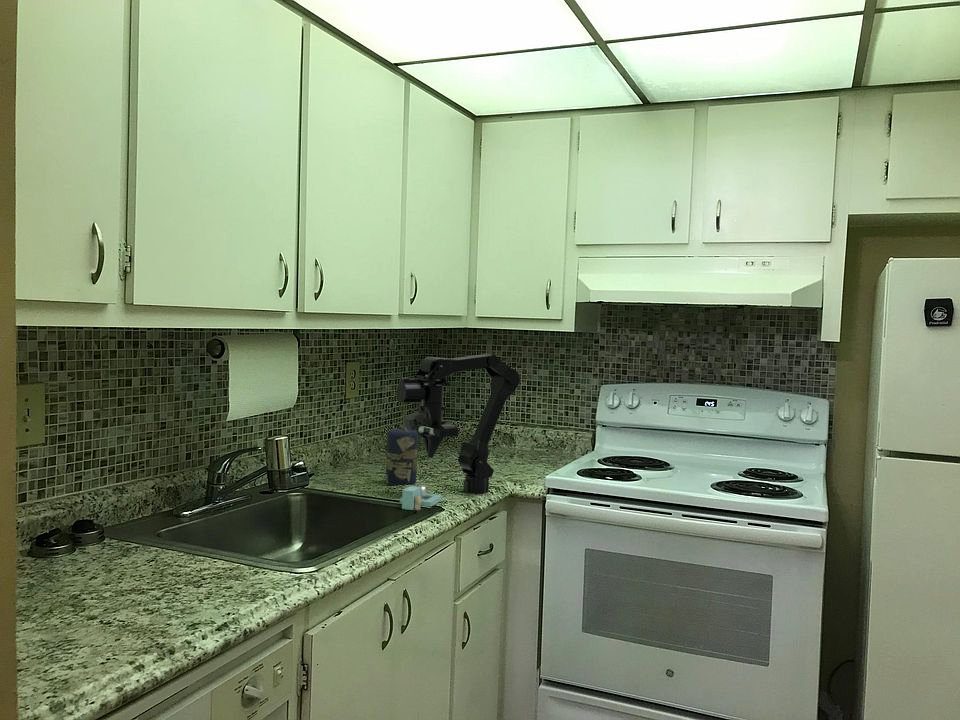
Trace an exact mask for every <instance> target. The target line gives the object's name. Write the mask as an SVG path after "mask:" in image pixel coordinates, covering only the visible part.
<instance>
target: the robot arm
mask: <svg viewBox="0 0 960 720" xmlns="http://www.w3.org/2000/svg"><path fill="white" fill-rule="evenodd" d="M480 369H484V371H485V372H486V374H487V376H489V377H490V379H491V380H490V385H489V386H490V394H489V395H490V396H489V397H488V400H487V402H486V404H485V407H484V410H483V412H482V415H481V417H480V419H479V422H478V424H477V426H476V429H475V431H474V433H473V436H472V438H471V439H470V440H469V441H468V442H467V441H462V443H461V447H460V449H459V451H458V453H457V455H458V457H457V461H458V464H459V466H460V467H461V470H462V473H463V474H465V478H464V480H463V490H462V491H463V493H465V494H468V495H471V494H473V495H484V494H486V493H489V490H490V489H489V488H490V484H489V483H490V478H492V477H493V474H494V471H495V470H494V469H493V467H491V465H490V464H489V463H488V459H489V443H490V440H491V439H492V435H493V434H494V431H495V428H496V426H497V423H498V421H499V418H500V417H501V415H502V411H503V409H504V406H505V404H506V402H507V400H508V399H509V398H510V397H511V396H512V395H513V394H514V393H515V392H516V390H517V388H518V387H519V385H520V383H521V377H520V374H519V372H518V371H517V370H516V369H513V368H512V367H511V366H510V365H508V364H507V363H505V362H504V361H502V360H501V359H500V358H499V357H498V356H497V355H496V354H494V353H487V352H486V353H485V352H484V353H482V354H476V355H474V354H473V355H469V356H461V357H460V356H459V357H454V358H453V357H452V358H448V357H435V356H434V357H433V356H427V357H425V358H423V359H422V361H421V364H420V367H419V368H418V369H417V371H416V372H415V374H414V375H413V377H412V378H406V377H401V378H400V379H399V380H400V381H399V383H398V384H397V387H396V389H395V397H396V400H397V402H398V403H400V404H410V403H411V404H414V403H417V404H419V403H421V402H422V403H421V404H419V405H418V408H417V411H415V412H411V413H409V414H407V415H405V416H404V417H402V421H403V424H404V427H405V428H406V429H410V430H416V431H417V430H418V431H417V434H418V436H420V437H421V439H422V440H423V444H424V447H425V450H426V453H427V454H426V455H427V458H434V456H435V454H436V452H437V450H438V448H439V446H440V444H441V443H442V441H443V440H444V438H447V437H459V436H460V435H459V433H460V430H459V429H460V428H459V427H458V426H457V425H454V424H452V423H451V424H450V423H447V424H446V420H443V411H446V410H447V407H446V405H444V387H451V383H450V382H449V381H448V380H447V379H446V378H447V377H450V376H452V375H453V374H455V373H458V372H464V371H465V372H466V371H473V370H480Z"/></svg>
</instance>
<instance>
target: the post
mask: <svg viewBox="0 0 960 720" xmlns="http://www.w3.org/2000/svg"><path fill="white" fill-rule="evenodd" d="M415 486H416V487H421V499H423V500H427V494H428V485H426V484H425V485H424V484H416V485H415Z"/></svg>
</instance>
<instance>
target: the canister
mask: <svg viewBox="0 0 960 720" xmlns="http://www.w3.org/2000/svg"><path fill="white" fill-rule="evenodd" d="M417 432H418V431H417V429H416V430H410V429H406V428H405V426H400V427H399V428H392V429H391V428H390V429H389V430H388V431H387V434H386V454H385V455H386V457H385V483H386V484H388V485H390V486H394V487H398V486H414V485H415V484H416V483H417V474H418V473H417V471H418V455H419V454H418V453H419V452H418V450H419V449H418V448H419V447H418V446H419V434H417Z"/></svg>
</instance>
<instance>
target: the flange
mask: <svg viewBox="0 0 960 720" xmlns="http://www.w3.org/2000/svg"><path fill="white" fill-rule="evenodd" d="M416 486H417V485H415V486H414V485H408V487H406V488H404V489H402V495H401V496H402V497H401V498H399V504H401V509H402V510H409V511H413V510H414V511H415V509H414V508H415V496H421V487H416ZM442 500H443V495H442V494H435V493H427V500H423V499H421V507H422V506H423V507H429V508H430V507H433V506H435V504H438V503H439V502H441V501H442Z"/></svg>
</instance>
